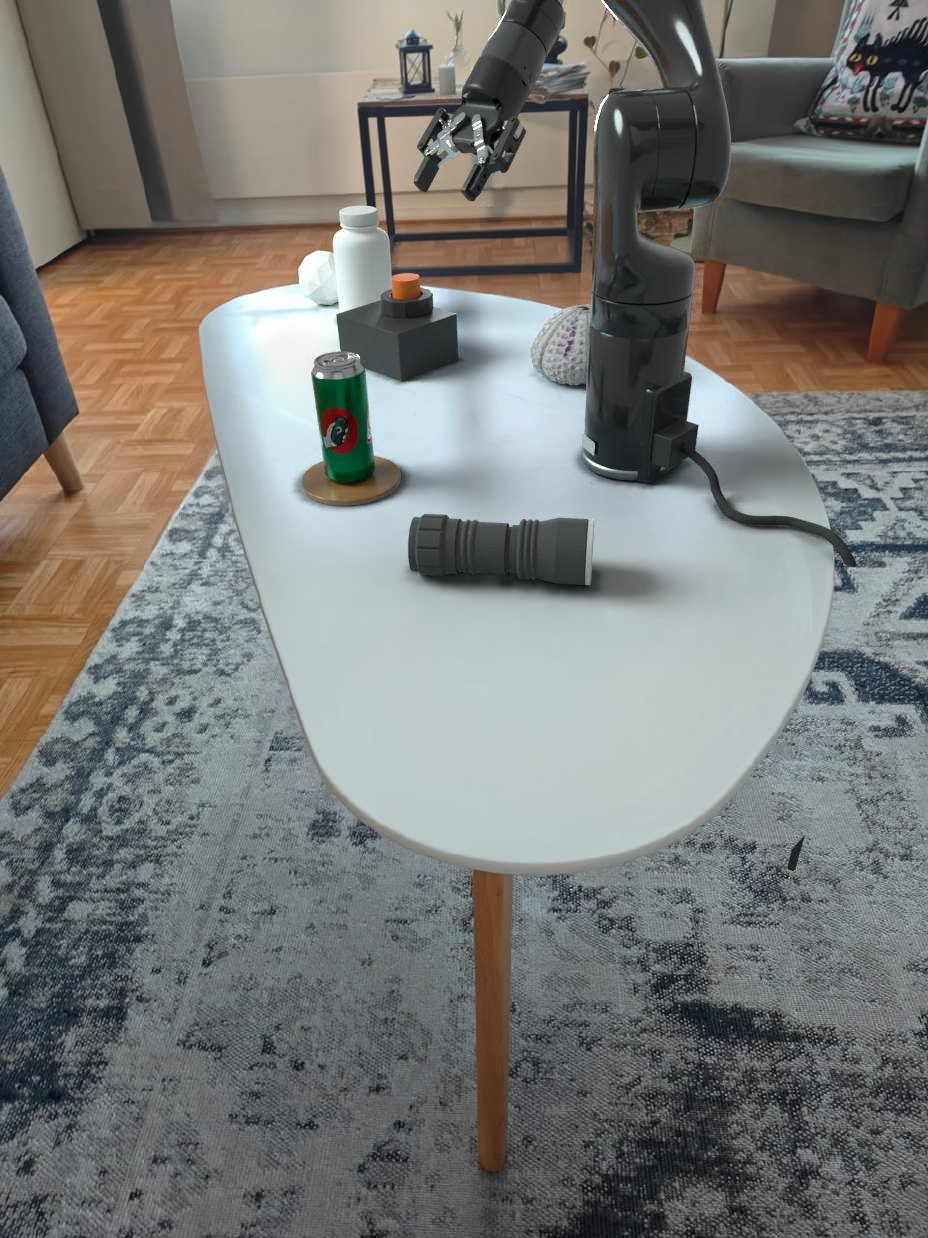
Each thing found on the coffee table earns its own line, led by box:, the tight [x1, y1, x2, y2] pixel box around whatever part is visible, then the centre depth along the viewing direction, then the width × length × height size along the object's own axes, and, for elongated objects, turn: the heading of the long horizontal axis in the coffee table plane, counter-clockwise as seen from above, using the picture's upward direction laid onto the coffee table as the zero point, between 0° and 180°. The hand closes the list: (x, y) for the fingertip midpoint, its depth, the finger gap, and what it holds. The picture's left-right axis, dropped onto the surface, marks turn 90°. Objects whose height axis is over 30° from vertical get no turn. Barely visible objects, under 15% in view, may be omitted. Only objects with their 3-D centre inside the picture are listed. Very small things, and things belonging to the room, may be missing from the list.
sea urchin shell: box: [529, 303, 591, 386], centre depth 110 cm, size 13×14×8 cm
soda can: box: [310, 351, 375, 484], centre depth 87 cm, size 5×5×12 cm
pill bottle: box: [332, 205, 393, 313], centre depth 128 cm, size 8×8×15 cm
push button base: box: [335, 286, 459, 383], centre depth 116 cm, size 12×10×8 cm
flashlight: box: [407, 513, 595, 586], centre depth 75 cm, size 15×5×5 cm, turn 81°
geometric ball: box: [298, 249, 339, 306], centre depth 137 cm, size 8×8×8 cm
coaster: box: [300, 455, 402, 507], centre depth 91 cm, size 10×10×1 cm
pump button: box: [391, 272, 421, 300], centre depth 114 cm, size 4×4×2 cm
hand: (442, 192), depth 112 cm, fingers open, 8 cm apart
